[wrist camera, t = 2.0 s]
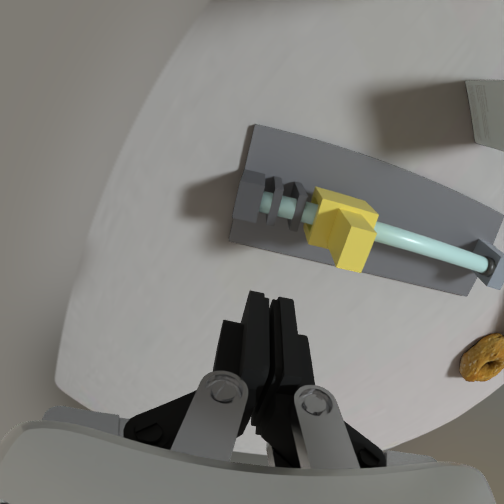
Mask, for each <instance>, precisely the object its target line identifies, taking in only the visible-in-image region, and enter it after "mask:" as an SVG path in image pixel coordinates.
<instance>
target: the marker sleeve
mask: <svg viewBox="0 0 504 504" xmlns="http://www.w3.org/2000/svg"><path fill="white" fill-rule="evenodd" d="M310 203H314V204H318V208H317V212H316V215H315V218H314V221H313V224H312V225H311V224H307V223H304V225H303V228H304V232H305V235H306V239H307V242H308V244H309V245H313V246H317V247H322V248H326V249H329V251H330V253H331V256H332V258H333V261H334V263H335V266H336V267H337V268H341V269H346V270H350V271H354V272H359V273H361V272H362V269H363V267H364V265H365V262H366V260H367V257H368V255H369V253H370V250H371V248H372V245H373V243H374V240H375V237H376V235H377V233H376V231H375V230H374V227H375V224H376V222H377V219H378V216H379V214H378V213H377V212H376V211H375V210H374V209H373V208H372V207H371V206H370V205H369V204H368V203H367V202H366V201H364V200H361V199H357V198H354V197H351V196H347V195H344V194H341V193H337V192H334V191H330V190H327V189H323V188H319V187H316V186H315V189H314V192H313V195H312V199H311V202H310Z"/></svg>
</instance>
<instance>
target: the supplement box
mask: <svg viewBox="0 0 504 504" xmlns="http://www.w3.org/2000/svg"><path fill="white" fill-rule="evenodd" d="M465 83H466V88H467V93H468V99H469V105H470V110H471V117H472V124H473V131H474V138H475V142H476V143H477V144H480V145H484V146H487V147H491V148H495V149H498V150H501V151H504V80H473V81H465Z"/></svg>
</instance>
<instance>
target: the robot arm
mask: <svg viewBox="0 0 504 504" xmlns="http://www.w3.org/2000/svg"><path fill="white" fill-rule="evenodd" d="M250 417H251V425H252V426H256V434H257V435H261V437H262V438H263V439H264V440H265V441H266V442H267V447H266V450H267V456H268V462H269V466H260V465H251V464H242V463H235V462H230V458H231V454H232V451H233V448H234V444H235V441H236V438H237V437H239V436H240V435H242V434H243V432H244V430H245V428H246V426H247V424H248V422H249V420H250ZM0 504H496V502H495V499H494V496H493V494H492V491H491V489H490V486H489V484H488V482H487V481H486V479H485V477H484V476H483V474H482V473H481V472H480V471H479V470H478V469H476V468H474V467H471V466H469V465H465V464H460V463H454V462H437V461H436V460H435V459H433V458H432V457H430V456H425V455H418V454H410V453H402V452H396V451H389V450H387V451H386V452H382V450H381V449H380V448H378V447H377V446H376V445H375V444H373V443H372V442H371V441H369V440H368V439H367V438H365V437H364V436H363V435H361V434H360V433H359V432H358V431H356V430H355V429H354V428H352V427H351V426H350V425H348V424H347V423H346V422H345V421H343V418H342V415H341V412H340V410H339V407H338V404H337V401H336V399H335V398H334V396H333V395H332V394H331V393H330V392H329V391H328V390H326V389H325V388H322V387H320V386H316V385H315V382H314V375H313V368H312V362H311V355H310V348H309V342H308V338H307V336H305V335H299V334H298V331H297V323H296V315H295V308H294V301H293V299H288V298H283V297H278V299H277V300H274V299H273V300H272V302H271V305H270V308H269V298H265V297H264V293H259V292H255V291H250V292H249V295H248V298H247V302H246V306H245V309H244V313H243V317H242V321H241V323H237V322H232V321H227V320H223V324H222V328H221V333H220V337H219V342H218V346H217V351H216V357H215V362H214V367H213V372H210V373H208V374H207V375H205V376H204V377H203V379H202V380H201V382H200V384H199V386H198V389H197V390H196V391H194V392H191V393H189V394H187V395H185V396H182V397H180V398H178V399H175V400H173V401H171V402H168V403H166V404H163V405H161V406H159V407H156V408H154V409H151V410H149V411H146V412H144V413H141V414H138V415H136V416H134V417H132V418H131V419H125V418H120V417H119V415H115V414H108V413H101V412H94V411H88V410H81V409H76V408H71V407H66V406H55V407H52V408H50V409H49V410H47V411H46V412H45V414H44V416H43V418H42V420H39V421H28V422H23V423H21V424H18V425H17V426H15V427H13V428H12V429H11V430H10V431H9V432H8V433H7V434H6V435H5V437H4V438H3V439H2V440H1V441H0Z"/></svg>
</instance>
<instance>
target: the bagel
mask: <svg viewBox="0 0 504 504" xmlns="http://www.w3.org/2000/svg"><path fill="white" fill-rule="evenodd" d="M503 368H504V336H503V335H501V334H500V333H494V334H490V335H488V336H485V337H484V338H482V339H481V340H480V341H479V342H478V343H477V344H476V345H474V346H473V347H472V348H471V349H469V350H468V351H467V352H466V353H464V354H463V356H462V358H461V362H460V368H459V370H460V373H461V375H462V377H463V378H464V379H465V380H466V381H469V382H470V381H472V382H474V381H487V380H490V379H491V378H492V377H494V376H496V375H497V374H498V373H499V372H500V371H501V370H502V369H503Z"/></svg>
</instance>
